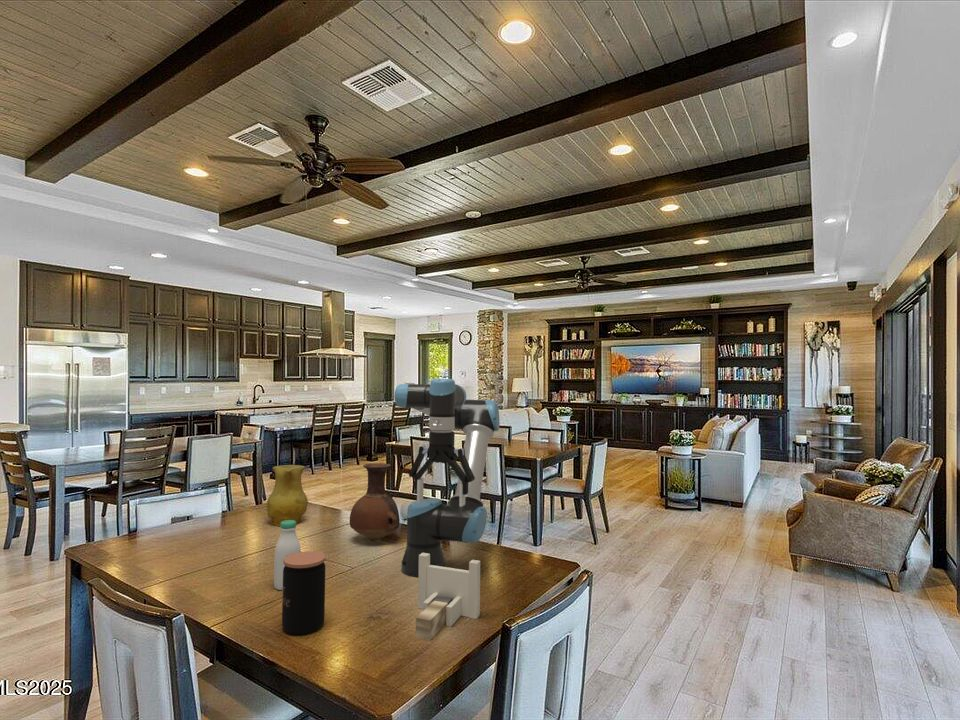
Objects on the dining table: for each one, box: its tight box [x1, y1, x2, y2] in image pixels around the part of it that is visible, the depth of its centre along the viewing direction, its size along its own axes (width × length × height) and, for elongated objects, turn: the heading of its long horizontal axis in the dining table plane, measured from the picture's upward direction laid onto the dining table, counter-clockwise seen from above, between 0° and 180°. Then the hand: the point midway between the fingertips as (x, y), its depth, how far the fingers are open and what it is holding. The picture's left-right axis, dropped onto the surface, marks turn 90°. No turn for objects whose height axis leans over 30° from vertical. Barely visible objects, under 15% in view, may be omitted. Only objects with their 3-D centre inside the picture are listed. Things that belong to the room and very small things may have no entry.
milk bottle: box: [273, 520, 302, 591], centre depth 168 cm, size 8×8×20 cm
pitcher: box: [266, 464, 309, 527], centre depth 238 cm, size 17×19×25 cm
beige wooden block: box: [415, 596, 453, 641], centre depth 142 cm, size 14×4×5 cm, turn 160°
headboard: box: [417, 553, 481, 627], centre depth 148 cm, size 18×9×15 cm, turn 70°
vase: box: [349, 462, 400, 542], centre depth 214 cm, size 25×20×30 cm
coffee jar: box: [281, 550, 326, 636], centre depth 141 cm, size 11×11×18 cm
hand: (440, 503), depth 158 cm, fingers open, 13 cm apart
